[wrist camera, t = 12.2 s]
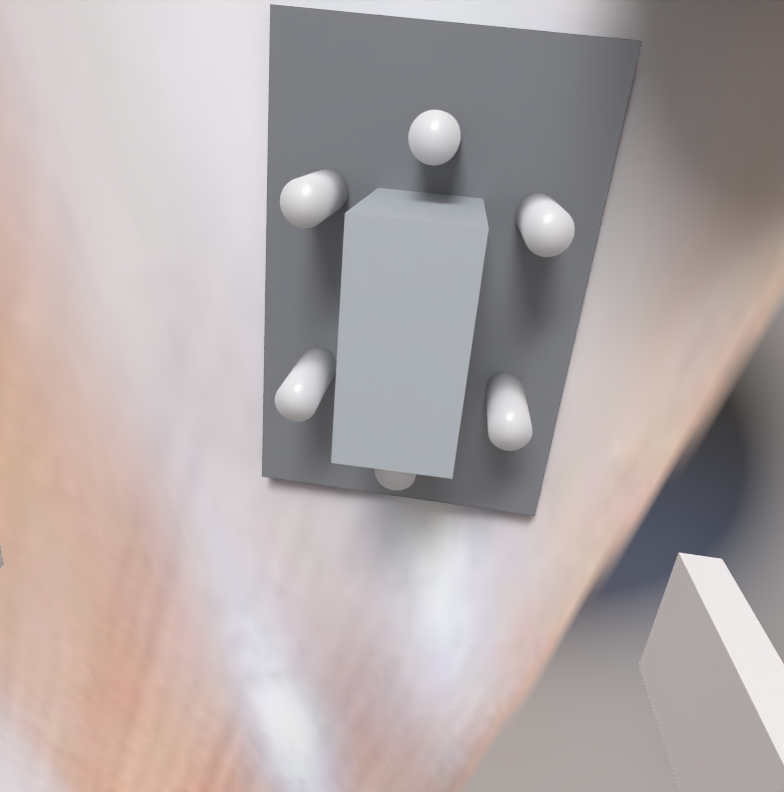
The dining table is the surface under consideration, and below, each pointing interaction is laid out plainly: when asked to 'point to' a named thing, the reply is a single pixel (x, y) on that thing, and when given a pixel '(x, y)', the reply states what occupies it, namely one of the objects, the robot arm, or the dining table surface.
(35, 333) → the dining table surface
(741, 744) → the robot arm
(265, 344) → the grey peg board
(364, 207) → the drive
